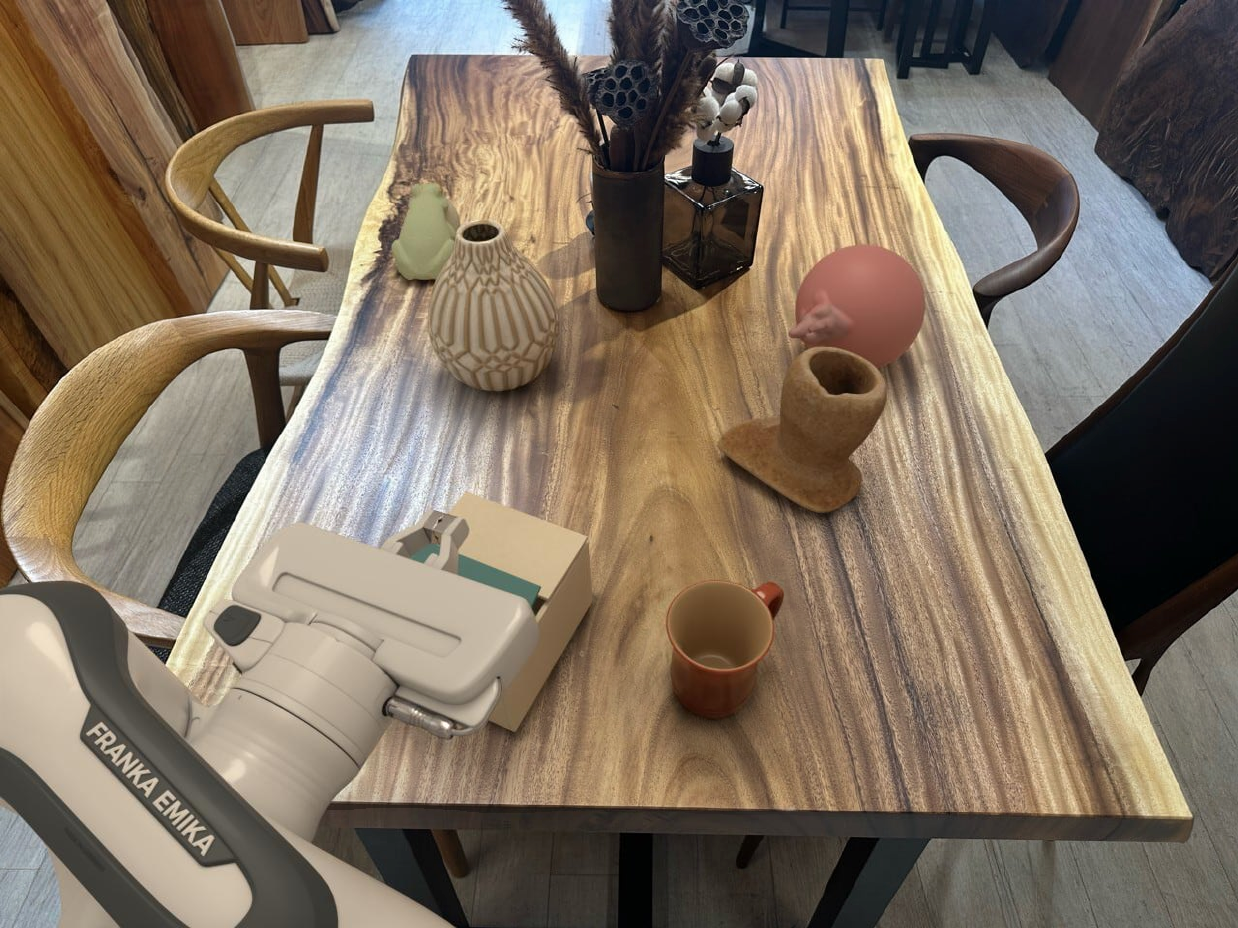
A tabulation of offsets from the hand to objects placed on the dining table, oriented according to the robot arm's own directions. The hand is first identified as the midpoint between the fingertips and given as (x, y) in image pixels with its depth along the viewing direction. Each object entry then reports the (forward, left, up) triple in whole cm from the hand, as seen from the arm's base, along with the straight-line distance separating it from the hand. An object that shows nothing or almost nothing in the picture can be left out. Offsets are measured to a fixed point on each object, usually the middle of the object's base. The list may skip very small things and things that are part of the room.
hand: (450, 518), depth 56 cm
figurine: (+12, +73, -23) cm, 77 cm away
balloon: (+54, +26, -23) cm, 64 cm away
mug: (+20, -8, -23) cm, 32 cm away
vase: (+14, +42, -23) cm, 50 cm away
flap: (-1, +2, -12) cm, 12 cm away
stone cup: (+40, +12, -23) cm, 48 cm away
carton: (+2, +4, -23) cm, 24 cm away
